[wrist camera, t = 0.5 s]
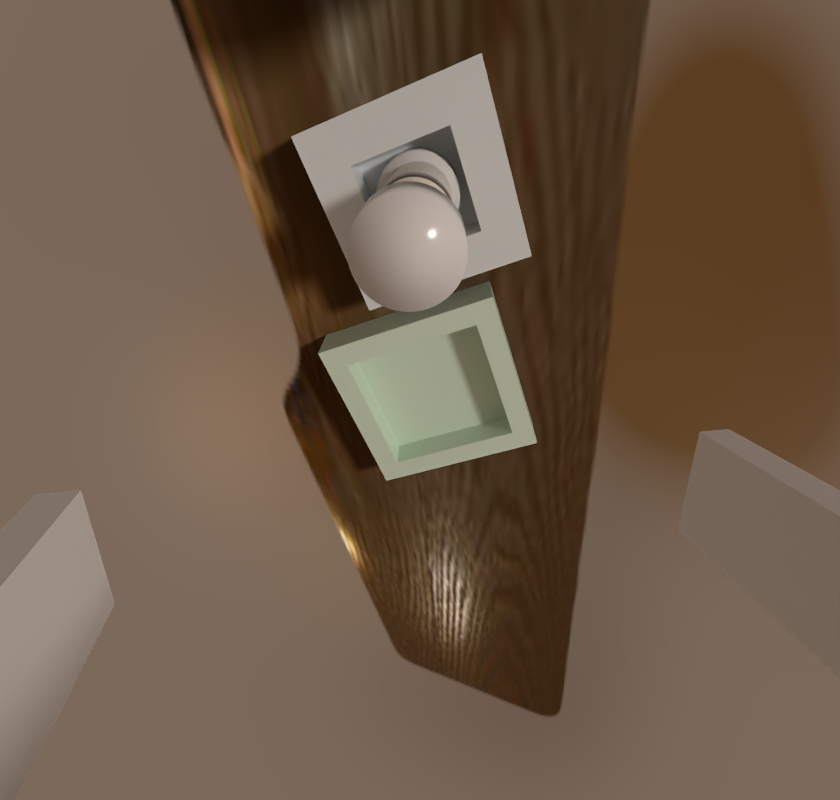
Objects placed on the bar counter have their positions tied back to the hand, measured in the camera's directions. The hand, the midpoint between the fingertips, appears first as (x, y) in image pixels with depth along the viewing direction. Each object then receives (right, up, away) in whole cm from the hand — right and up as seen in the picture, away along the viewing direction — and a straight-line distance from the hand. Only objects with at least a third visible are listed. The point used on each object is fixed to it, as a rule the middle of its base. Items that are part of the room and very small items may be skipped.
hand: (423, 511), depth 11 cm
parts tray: (+1, +4, +29) cm, 30 cm away
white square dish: (0, +16, +21) cm, 27 cm away
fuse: (0, +16, +20) cm, 26 cm away
